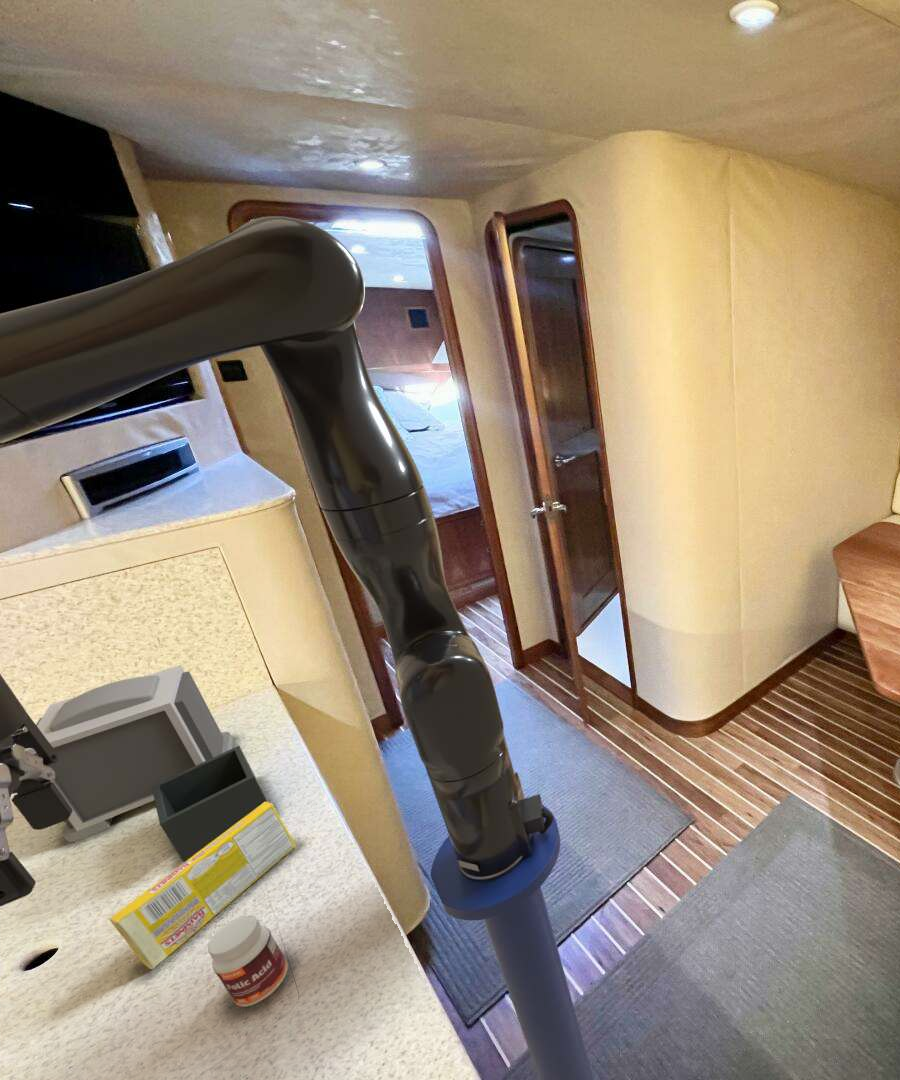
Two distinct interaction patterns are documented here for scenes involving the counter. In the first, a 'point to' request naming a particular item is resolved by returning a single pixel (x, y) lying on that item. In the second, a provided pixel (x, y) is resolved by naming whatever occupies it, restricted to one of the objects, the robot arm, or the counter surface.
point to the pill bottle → (247, 960)
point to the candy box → (203, 885)
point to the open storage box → (206, 801)
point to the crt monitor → (127, 744)
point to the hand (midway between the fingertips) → (37, 856)
